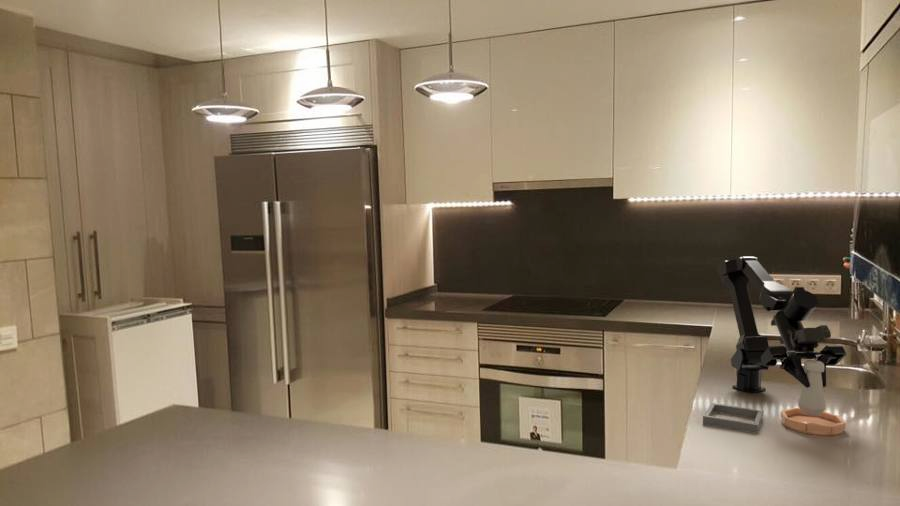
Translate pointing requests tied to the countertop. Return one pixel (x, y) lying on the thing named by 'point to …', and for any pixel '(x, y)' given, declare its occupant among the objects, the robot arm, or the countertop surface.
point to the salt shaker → (813, 390)
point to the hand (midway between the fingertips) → (816, 386)
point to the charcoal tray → (730, 423)
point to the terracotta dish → (813, 422)
